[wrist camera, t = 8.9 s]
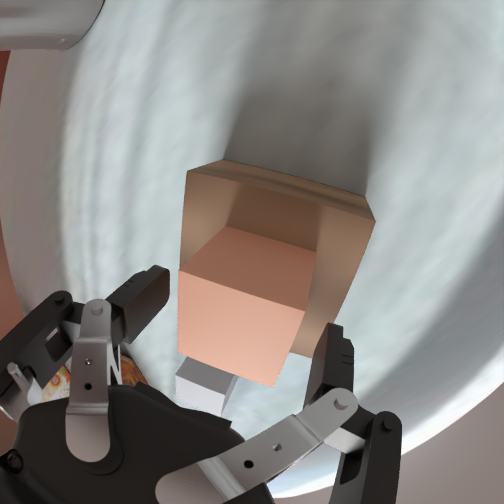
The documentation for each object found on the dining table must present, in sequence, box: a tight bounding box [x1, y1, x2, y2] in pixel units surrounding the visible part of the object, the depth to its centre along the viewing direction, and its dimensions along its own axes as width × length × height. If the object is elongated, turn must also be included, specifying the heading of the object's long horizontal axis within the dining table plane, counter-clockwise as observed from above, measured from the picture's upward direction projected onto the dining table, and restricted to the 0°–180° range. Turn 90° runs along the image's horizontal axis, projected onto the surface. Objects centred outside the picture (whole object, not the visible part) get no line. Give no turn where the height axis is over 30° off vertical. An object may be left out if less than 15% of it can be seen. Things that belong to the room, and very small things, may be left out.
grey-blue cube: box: [175, 356, 237, 417], centre depth 26 cm, size 5×5×5 cm
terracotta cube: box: [178, 226, 316, 387], centre depth 13 cm, size 5×5×5 cm
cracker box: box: [41, 365, 70, 402], centre depth 41 cm, size 14×6×21 cm, turn 6°
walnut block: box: [180, 160, 376, 358], centre depth 18 cm, size 10×10×5 cm
